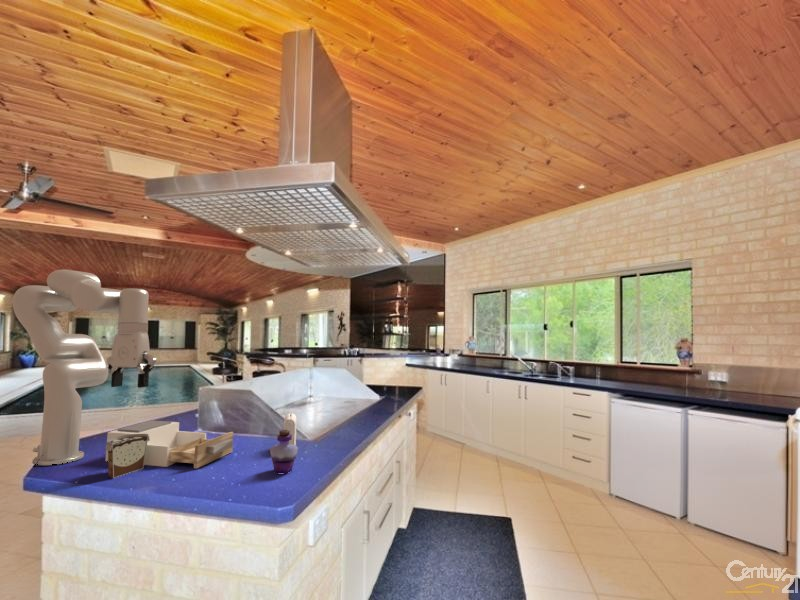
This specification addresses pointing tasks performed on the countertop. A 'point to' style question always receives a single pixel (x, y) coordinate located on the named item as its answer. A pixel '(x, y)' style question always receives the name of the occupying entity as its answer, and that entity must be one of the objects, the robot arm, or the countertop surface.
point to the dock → (158, 439)
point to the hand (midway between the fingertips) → (129, 386)
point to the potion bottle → (283, 453)
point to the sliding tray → (202, 450)
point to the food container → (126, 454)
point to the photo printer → (291, 426)
